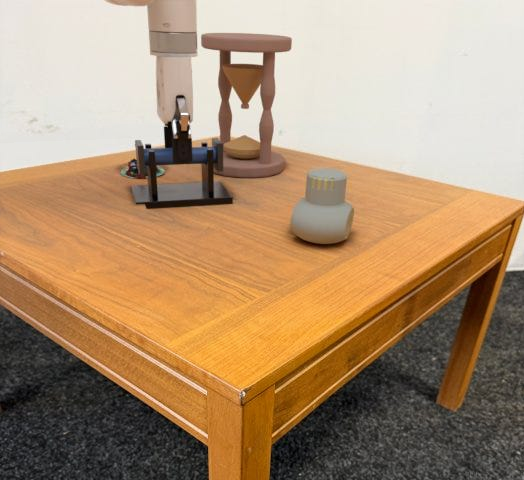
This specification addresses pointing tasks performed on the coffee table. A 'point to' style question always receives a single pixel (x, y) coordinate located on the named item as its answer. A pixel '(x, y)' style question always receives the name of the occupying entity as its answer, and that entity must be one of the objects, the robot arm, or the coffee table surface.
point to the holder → (181, 188)
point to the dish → (134, 172)
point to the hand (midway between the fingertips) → (178, 156)
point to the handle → (166, 155)
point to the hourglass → (247, 101)
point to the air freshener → (323, 208)
